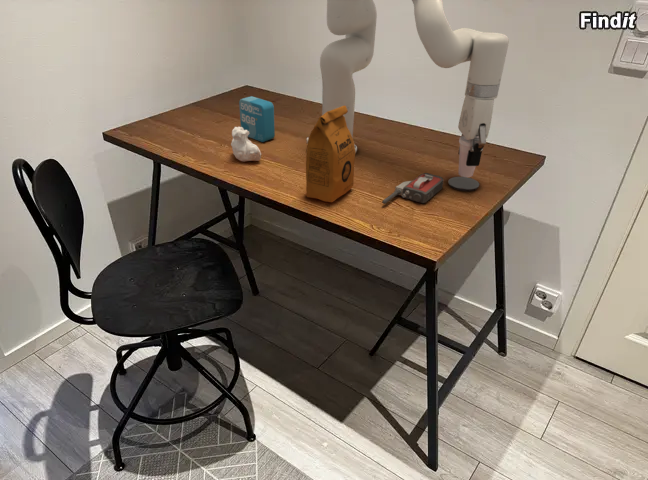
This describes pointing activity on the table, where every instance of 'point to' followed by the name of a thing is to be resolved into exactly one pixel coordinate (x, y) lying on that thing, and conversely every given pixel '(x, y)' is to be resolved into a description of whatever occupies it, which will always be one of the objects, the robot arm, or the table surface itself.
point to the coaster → (463, 184)
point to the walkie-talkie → (418, 188)
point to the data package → (257, 118)
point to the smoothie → (465, 157)
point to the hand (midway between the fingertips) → (468, 159)
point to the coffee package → (330, 157)
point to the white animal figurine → (244, 146)
